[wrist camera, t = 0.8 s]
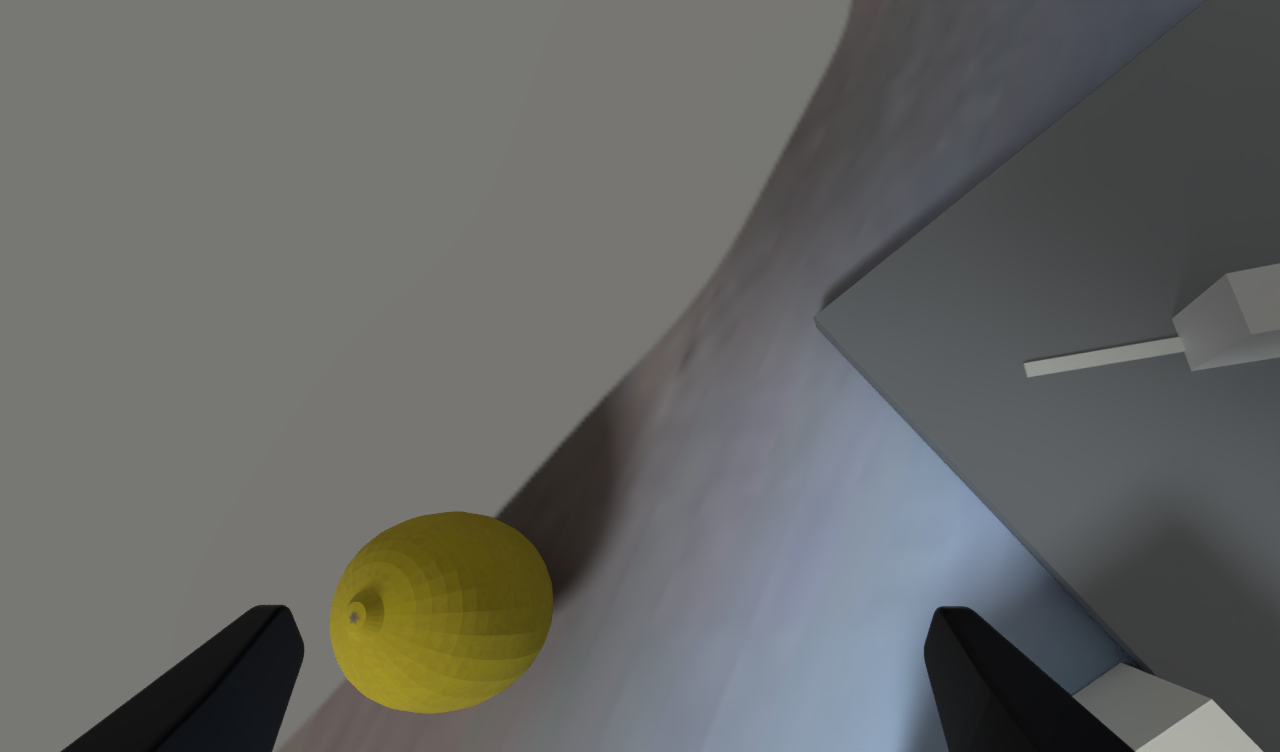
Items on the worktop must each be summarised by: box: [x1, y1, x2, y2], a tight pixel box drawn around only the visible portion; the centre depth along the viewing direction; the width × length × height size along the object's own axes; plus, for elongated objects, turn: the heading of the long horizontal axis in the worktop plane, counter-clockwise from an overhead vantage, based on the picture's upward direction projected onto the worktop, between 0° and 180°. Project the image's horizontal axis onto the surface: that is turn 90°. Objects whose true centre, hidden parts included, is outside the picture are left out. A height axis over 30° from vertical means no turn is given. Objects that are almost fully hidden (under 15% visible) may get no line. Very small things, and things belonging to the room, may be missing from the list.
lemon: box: [329, 512, 554, 713], centre depth 19 cm, size 6×6×8 cm
